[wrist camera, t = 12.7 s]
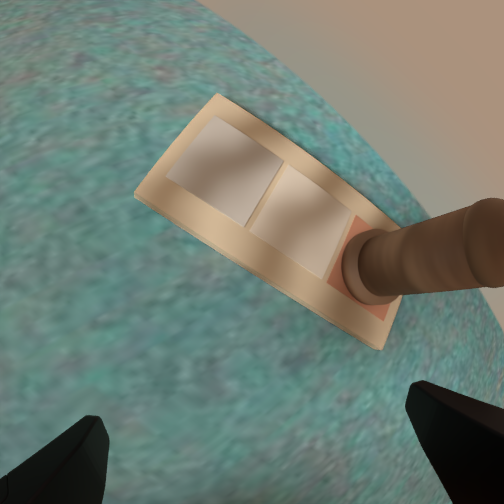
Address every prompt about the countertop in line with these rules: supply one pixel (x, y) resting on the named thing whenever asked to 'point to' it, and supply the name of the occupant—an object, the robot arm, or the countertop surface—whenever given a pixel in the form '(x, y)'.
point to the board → (269, 212)
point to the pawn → (428, 255)
